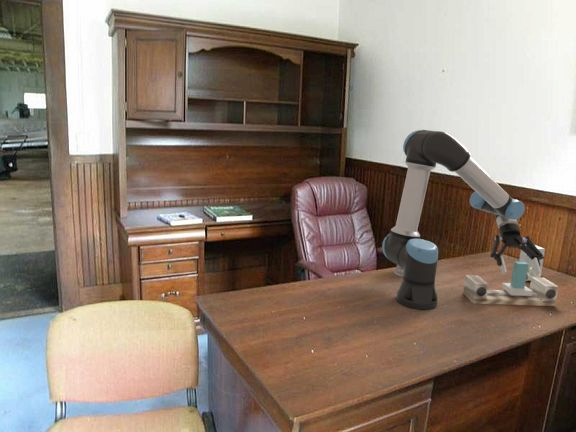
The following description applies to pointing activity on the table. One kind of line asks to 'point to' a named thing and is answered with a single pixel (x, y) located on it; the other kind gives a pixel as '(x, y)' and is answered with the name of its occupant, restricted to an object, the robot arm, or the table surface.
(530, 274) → the valve
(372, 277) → the table surface
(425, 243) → the robot arm
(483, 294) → the rail board
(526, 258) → the small box
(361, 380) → the table surface
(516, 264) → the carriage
